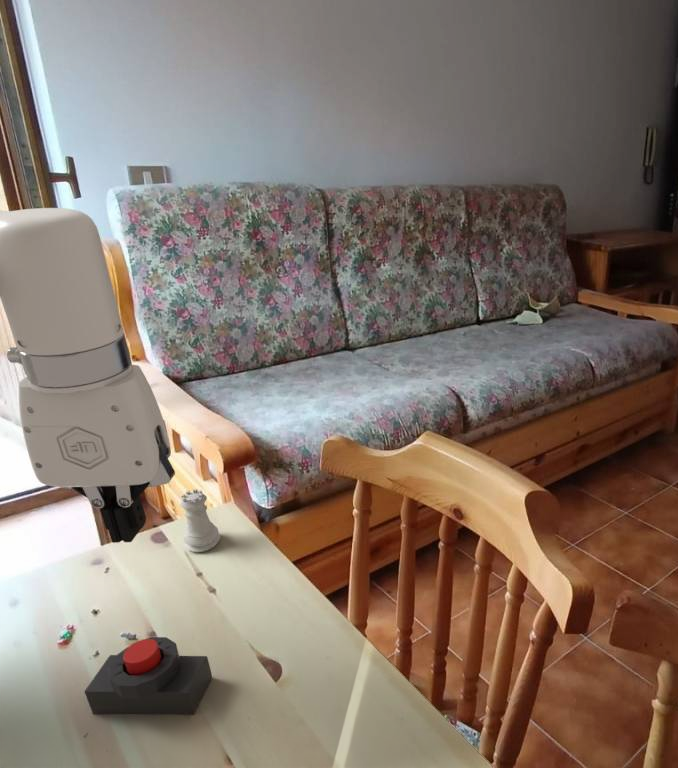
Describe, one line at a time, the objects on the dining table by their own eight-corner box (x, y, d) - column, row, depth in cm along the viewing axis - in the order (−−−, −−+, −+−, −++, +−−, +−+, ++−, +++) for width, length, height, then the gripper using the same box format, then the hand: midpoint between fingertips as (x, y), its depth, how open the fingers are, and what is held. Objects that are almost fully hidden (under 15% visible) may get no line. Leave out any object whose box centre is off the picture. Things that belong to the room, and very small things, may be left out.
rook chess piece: (190, 558, 83) (178, 509, 79) (181, 541, 86) (169, 492, 83) (225, 545, 85) (215, 496, 82) (215, 528, 89) (204, 481, 85)
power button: (120, 676, 61) (116, 663, 60) (137, 651, 64) (133, 638, 63) (151, 676, 61) (147, 663, 60) (167, 651, 64) (163, 638, 63)
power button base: (87, 721, 62) (73, 685, 59) (121, 670, 67) (109, 636, 65) (190, 722, 62) (180, 686, 60) (215, 671, 67) (207, 637, 65)
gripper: (-48, 379, 49) (24, 562, 57) (150, 377, 51) (194, 556, 58) (13, 344, 56) (69, 512, 64) (186, 343, 57) (221, 508, 65)
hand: (129, 533), depth 61 cm, fingers closed
